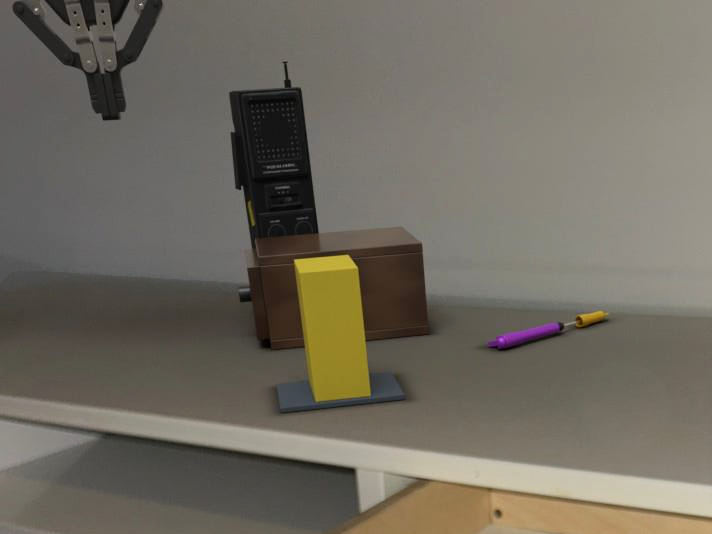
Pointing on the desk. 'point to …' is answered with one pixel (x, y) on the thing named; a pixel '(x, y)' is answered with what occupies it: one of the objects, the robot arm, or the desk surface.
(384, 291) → the cabinet
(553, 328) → the purple soldering iron
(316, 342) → the block
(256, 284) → the drawer
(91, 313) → the desk surface
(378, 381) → the mat
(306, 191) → the portable radio
